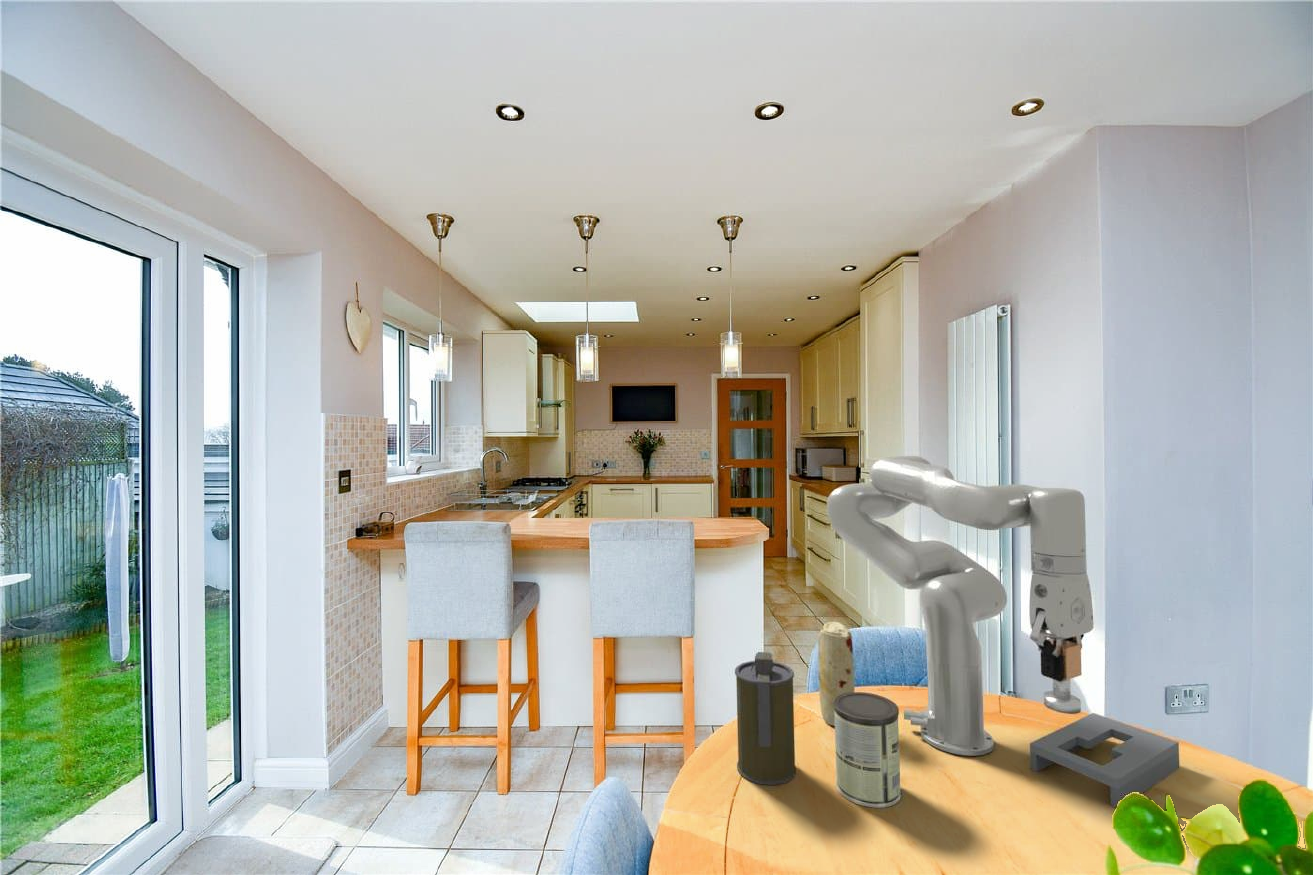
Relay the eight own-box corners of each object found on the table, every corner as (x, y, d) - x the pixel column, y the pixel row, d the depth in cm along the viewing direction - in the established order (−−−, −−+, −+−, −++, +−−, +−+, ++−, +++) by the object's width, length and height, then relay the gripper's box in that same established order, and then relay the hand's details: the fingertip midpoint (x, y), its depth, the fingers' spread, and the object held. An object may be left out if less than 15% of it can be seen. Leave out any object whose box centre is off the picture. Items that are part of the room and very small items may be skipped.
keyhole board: (1118, 808, 90) (1117, 779, 90) (1030, 769, 101) (1029, 743, 102) (1179, 768, 101) (1178, 741, 101) (1093, 736, 112) (1093, 712, 112)
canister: (738, 751, 110) (736, 644, 110) (795, 755, 107) (792, 647, 108) (734, 784, 99) (732, 666, 99) (797, 790, 97) (794, 669, 97)
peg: (1069, 716, 92) (1067, 650, 92) (1037, 704, 96) (1035, 640, 96) (1087, 709, 94) (1085, 644, 94) (1055, 697, 98) (1053, 635, 98)
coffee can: (836, 768, 103) (834, 688, 103) (899, 777, 100) (896, 695, 100) (834, 802, 93) (832, 714, 94) (903, 814, 90) (901, 722, 90)
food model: (863, 731, 116) (860, 631, 116) (831, 733, 115) (828, 632, 116) (843, 709, 126) (841, 617, 126) (813, 711, 125) (811, 618, 125)
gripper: (1051, 573, 88) (1054, 694, 88) (1112, 562, 95) (1115, 673, 95) (1003, 564, 95) (1006, 676, 95) (1064, 554, 102) (1066, 658, 102)
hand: (1060, 674), depth 95 cm, fingers closed on peg, 4 cm apart
